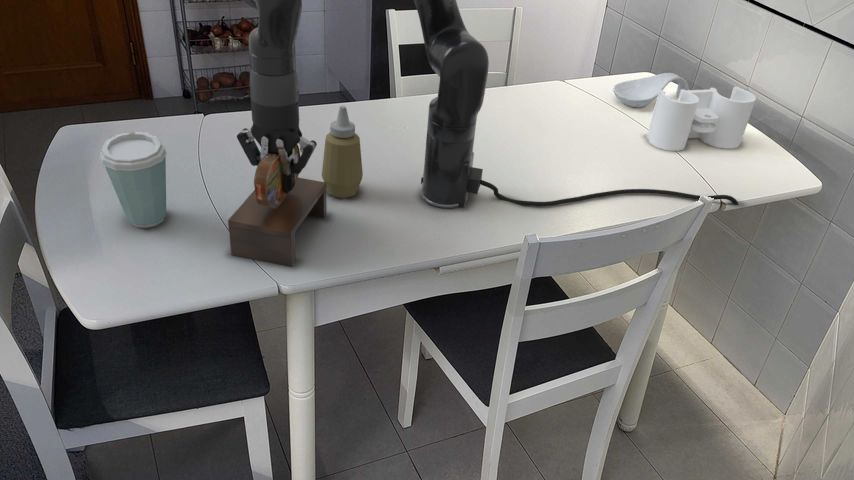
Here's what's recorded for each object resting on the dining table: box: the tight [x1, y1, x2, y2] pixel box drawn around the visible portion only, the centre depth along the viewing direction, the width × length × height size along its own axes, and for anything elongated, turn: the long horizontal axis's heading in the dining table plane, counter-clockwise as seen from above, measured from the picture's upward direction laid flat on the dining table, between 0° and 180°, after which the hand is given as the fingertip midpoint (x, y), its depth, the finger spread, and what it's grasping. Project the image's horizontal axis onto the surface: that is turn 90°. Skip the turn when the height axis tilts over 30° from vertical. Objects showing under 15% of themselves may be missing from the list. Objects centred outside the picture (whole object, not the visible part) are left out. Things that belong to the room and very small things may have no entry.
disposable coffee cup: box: [98, 131, 168, 229], centre depth 129 cm, size 11×11×15 cm
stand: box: [227, 176, 328, 268], centre depth 132 cm, size 11×18×7 cm, turn 169°
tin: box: [253, 144, 301, 208], centre depth 127 cm, size 15×3×8 cm, turn 169°
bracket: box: [646, 86, 757, 152], centre depth 181 cm, size 25×10×12 cm, turn 108°
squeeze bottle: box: [321, 105, 364, 199], centre depth 143 cm, size 8×8×18 cm
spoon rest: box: [612, 72, 690, 109], centre depth 201 cm, size 24×12×7 cm, turn 117°
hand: (279, 189), depth 129 cm, fingers closed on tin, 2 cm apart
